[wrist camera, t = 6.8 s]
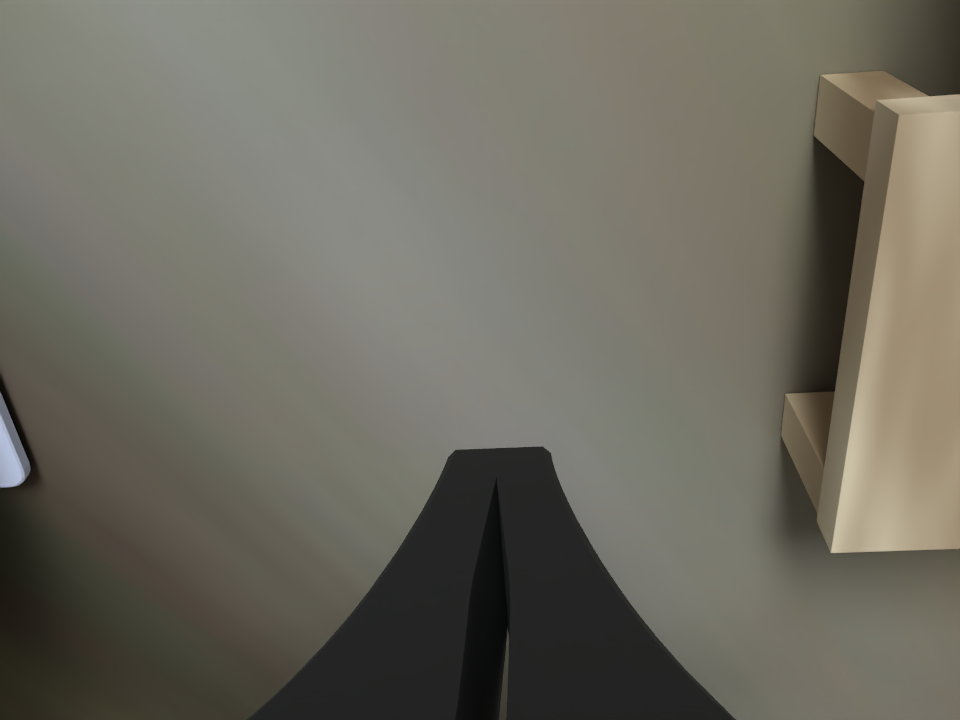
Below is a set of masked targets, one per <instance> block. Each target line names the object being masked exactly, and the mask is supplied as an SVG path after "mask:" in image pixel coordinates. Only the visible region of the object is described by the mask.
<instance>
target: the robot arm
mask: <svg viewBox="0 0 960 720" xmlns="http://www.w3.org/2000/svg"><path fill="white" fill-rule="evenodd" d="M30 470H31V469H30V463H29V461H28V458H27V456H26V453H25V451H24V449H23V446H22V444H21V441H20V439H19V436H18V434H17V431H16V429H15V426H14V424H13V421H12V419H11V417H10V414H9V412H8V409H7V407H6V404H5V402H4V399H3V397H2V394H1V392H0V488H2V487H14V486H18V485H20V484H21V483H22V482H23V481H24V480H25V479H26V478H27V476H28V475H29V473H30ZM507 628H508V631H509V669H508V699H507V720H736V719H734V718H733V717H732V716H731V715H730V714H729V713H728V712H727V711H726V710H725V709H724V708H723V707H722V706H721V705H720V704H719V703H718V702H717V701H716V700H715V699H714V698H713V697H712V696H711V695H710V694H709V693H708V692H707V691H706V690H705V689H704V688H703V687H702V686H701V685H700V684H699V683H698V682H697V681H696V680H695V679H694V678H693V677H692V676H691V675H690V674H689V673H688V672H687V671H686V670H685V669H684V668H683V666H682V665H681V664H680V663H679V662H678V661H677V660H676V659H675V657H674V656H673V655H672V654H671V653H670V652H669V651H668V649H667V648H666V647H665V646H664V645H663V644H662V643H661V641H660V640H659V639H658V638H657V637H656V636H655V634H654V633H653V632H652V631H651V629H650V628H649V627H648V626H647V624H646V623H645V622H644V621H643V619H642V618H641V617H640V616H639V614H638V613H637V612H636V611H635V609H634V608H633V607H632V605H631V604H630V603H629V601H628V600H627V598H626V597H625V596H624V594H623V593H622V591H621V590H620V589H619V587H618V586H617V584H616V583H615V581H614V580H613V578H612V577H611V575H610V574H609V572H608V571H607V569H606V568H605V566H604V565H603V563H602V562H601V560H600V559H599V557H598V555H597V554H596V552H595V550H594V549H593V547H592V545H591V544H590V542H589V540H588V538H587V537H586V535H585V533H584V531H583V529H582V528H581V526H580V524H579V522H578V521H577V519H576V517H575V515H574V513H573V511H572V509H571V507H570V505H569V503H568V501H567V498H566V496H565V494H564V492H563V490H562V487H561V485H560V482H559V480H558V477H557V475H556V472H555V469H554V465H553V462H552V457H551V453H550V452H549V451H547V450H546V449H545V448H544V447H519V448H494V449H468V450H455V451H454V452H453V453H452V454H451V455H450V456H449V457H448V459H447V462H446V464H445V467H444V469H443V471H442V473H441V476H440V478H439V480H438V482H437V484H436V486H435V488H434V490H433V492H432V494H431V495H430V497H429V499H428V501H427V503H426V505H425V506H424V508H423V510H422V512H421V513H420V515H419V517H418V518H417V520H416V522H415V523H414V525H413V527H412V528H411V530H410V532H409V533H408V535H407V536H406V538H405V540H404V541H403V543H402V545H401V546H400V548H399V549H398V551H397V552H396V554H395V555H394V557H393V558H392V559H391V561H390V562H389V564H388V565H387V567H386V568H385V569H384V571H383V572H382V574H381V575H380V576H379V578H378V579H377V581H376V582H375V583H374V585H373V586H372V588H371V589H370V590H369V592H368V593H367V594H366V596H365V597H364V598H363V600H362V601H361V602H360V603H359V605H358V606H357V607H356V608H355V610H354V611H353V612H352V613H351V615H350V616H349V617H348V618H347V620H346V621H345V622H344V623H343V624H342V625H341V626H340V628H339V629H338V630H337V631H336V632H335V633H334V635H333V636H332V637H331V638H330V639H329V640H328V641H327V643H326V644H325V645H324V646H323V647H322V648H321V649H320V650H319V651H318V652H317V653H316V654H315V655H314V656H313V657H312V658H311V659H310V660H309V662H308V663H307V664H306V665H305V666H304V667H303V668H302V669H301V670H300V671H299V672H298V673H297V674H296V675H295V676H294V677H293V678H292V679H291V680H290V681H289V682H288V683H287V684H286V685H285V686H284V687H283V688H282V689H281V690H280V691H279V692H278V693H277V694H276V695H275V696H273V697H272V698H271V699H270V700H269V701H268V702H267V703H266V704H265V705H263V706H262V707H261V708H260V709H259V710H258V711H257V712H255V713H254V714H253V715H252V716H251V717H250V718H248V719H247V720H499V710H500V700H501V690H502V680H503V670H504V660H505V649H506V639H507Z"/></svg>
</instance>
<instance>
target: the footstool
mask: <svg viewBox="0 0 960 720" xmlns="http://www.w3.org/2000/svg"><path fill="white" fill-rule="evenodd" d="M814 136H815V137H816V138H817V139H818V140H819V141H820V142H821V143H823V144H824V145H825V146H826V147H827V148H828V149H829V150H830V151H831V152H833V153H834V154H835V155H836V156H837V157H838V158H839V159H840V160H841V161H842V162H844V163H845V164H846V165H847V166H848V167H849V168H850V169H851V170H852V171H853V172H855V173H856V174H857V175H858V176H859V177H860V178H861V179H862V180H863V181H865V183H864V190H863V197H862V204H861V211H860V218H859V225H858V232H857V239H856V246H855V253H854V260H853V267H852V275H851V282H850V289H849V296H848V303H847V310H846V317H845V324H844V331H843V338H842V345H841V352H840V359H839V366H838V373H837V380H836V387H835V392H813V393H791V394H785V403H784V412H783V421H782V430H781V437H782V439H783V441H784V443H785V445H786V447H787V449H788V452H789V454H790V456H791V458H792V460H793V462H794V465H795V467H796V469H797V471H798V473H799V475H800V477H801V480H802V482H803V484H804V486H805V488H806V490H807V493H808V495H809V497H810V499H811V501H812V503H813V506H814V508H815V510H816V512H817V524H818V526H819V528H820V530H821V532H822V535H823V537H824V539H825V541H826V543H827V545H828V548H829V550H830V552H831V553H846V552H876V551H906V550H936V549H960V94H958V95H943V96H928V95H926V94H924V93H922V92H920V91H919V90H917V89H915V88H913V87H911V86H910V85H908V84H906V83H904V82H902V81H901V80H899V79H897V78H895V77H894V76H892V75H890V74H888V73H886V72H885V71H870V72H856V73H842V74H827V75H820V83H819V92H818V101H817V110H816V119H815V128H814Z"/></svg>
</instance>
